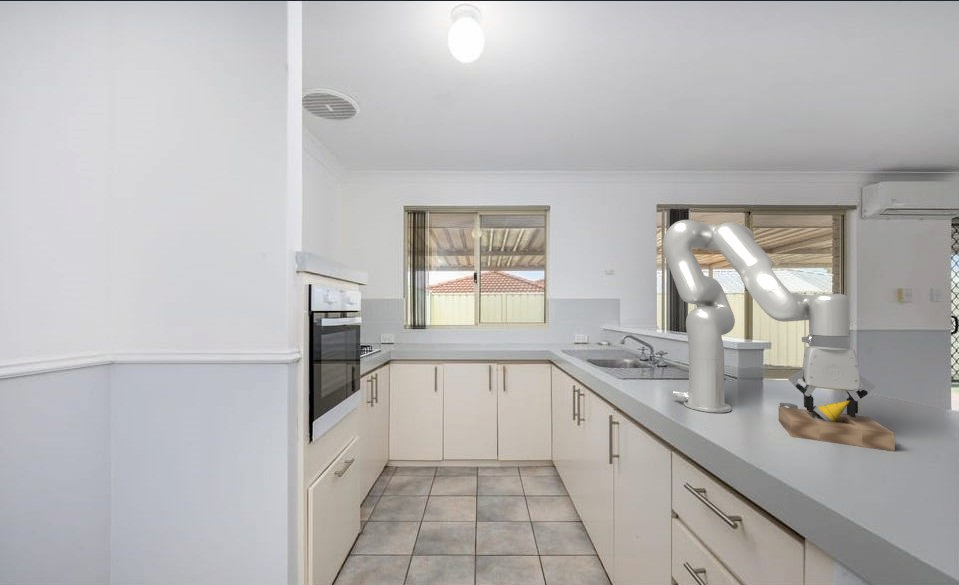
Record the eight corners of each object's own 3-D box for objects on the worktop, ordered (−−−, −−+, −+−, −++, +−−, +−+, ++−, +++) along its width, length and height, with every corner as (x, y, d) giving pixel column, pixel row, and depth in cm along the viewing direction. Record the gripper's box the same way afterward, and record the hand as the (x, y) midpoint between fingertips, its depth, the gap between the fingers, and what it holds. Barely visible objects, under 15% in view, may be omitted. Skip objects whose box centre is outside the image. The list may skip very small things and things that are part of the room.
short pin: (781, 419, 105) (781, 405, 105) (778, 415, 108) (778, 402, 108) (799, 421, 103) (799, 407, 103) (796, 418, 106) (795, 404, 106)
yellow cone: (809, 421, 98) (847, 399, 94) (825, 436, 93) (865, 414, 89) (797, 410, 97) (835, 387, 93) (812, 425, 92) (852, 401, 88)
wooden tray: (791, 436, 91) (790, 420, 91) (778, 420, 104) (778, 406, 104) (894, 451, 83) (894, 433, 83) (867, 432, 95) (867, 416, 95)
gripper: (788, 342, 95) (789, 412, 94) (884, 346, 86) (885, 423, 86) (781, 339, 101) (782, 405, 101) (870, 343, 93) (871, 415, 92)
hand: (830, 413), depth 93 cm, fingers closed on yellow cone, 7 cm apart
